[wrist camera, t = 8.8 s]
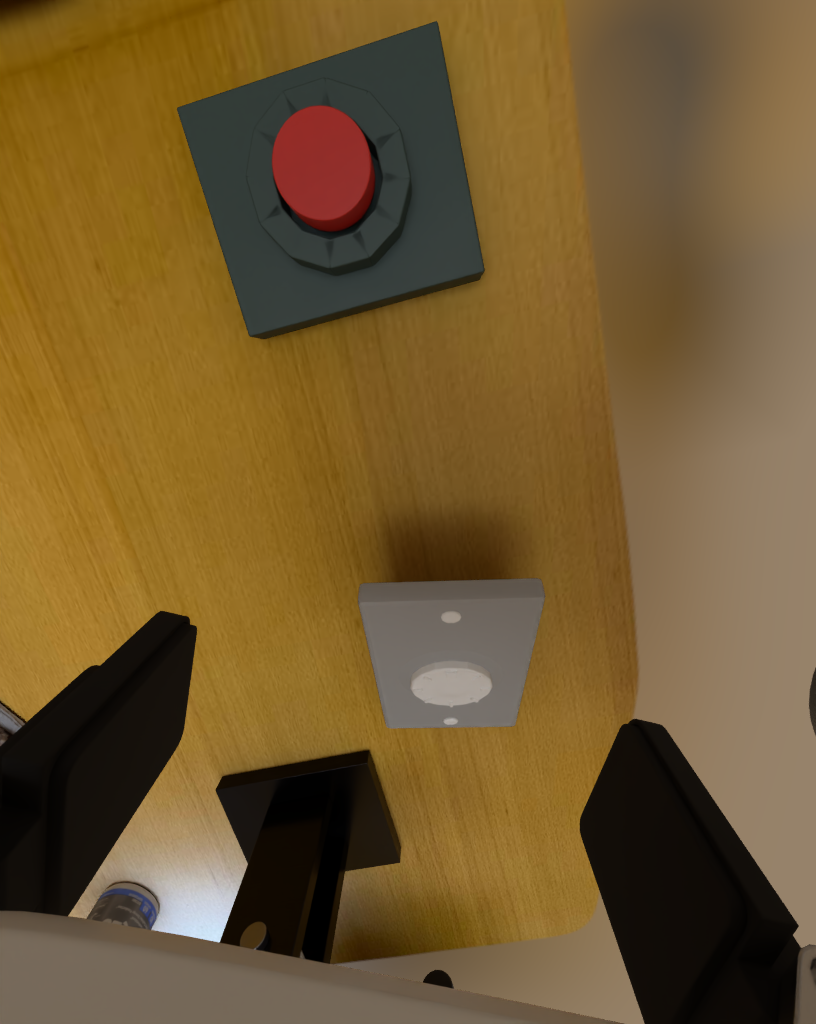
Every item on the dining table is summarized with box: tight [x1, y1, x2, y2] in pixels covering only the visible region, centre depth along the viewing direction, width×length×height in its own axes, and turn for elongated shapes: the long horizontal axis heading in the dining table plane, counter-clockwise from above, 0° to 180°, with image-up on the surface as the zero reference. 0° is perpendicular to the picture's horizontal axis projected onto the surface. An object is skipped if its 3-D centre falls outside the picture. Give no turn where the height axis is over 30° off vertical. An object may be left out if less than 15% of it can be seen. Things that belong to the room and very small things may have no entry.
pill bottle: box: [87, 883, 159, 930], centre depth 35 cm, size 5×5×8 cm
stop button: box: [272, 105, 375, 232], centre depth 20 cm, size 4×4×2 cm
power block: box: [177, 21, 485, 339], centre depth 23 cm, size 12×10×4 cm
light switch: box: [358, 578, 545, 728], centre depth 28 cm, size 8×6×14 cm
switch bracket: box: [216, 750, 401, 964], centre depth 30 cm, size 11×9×12 cm
